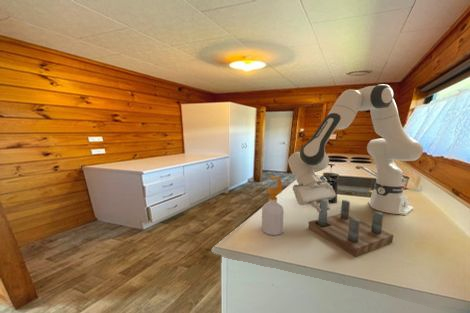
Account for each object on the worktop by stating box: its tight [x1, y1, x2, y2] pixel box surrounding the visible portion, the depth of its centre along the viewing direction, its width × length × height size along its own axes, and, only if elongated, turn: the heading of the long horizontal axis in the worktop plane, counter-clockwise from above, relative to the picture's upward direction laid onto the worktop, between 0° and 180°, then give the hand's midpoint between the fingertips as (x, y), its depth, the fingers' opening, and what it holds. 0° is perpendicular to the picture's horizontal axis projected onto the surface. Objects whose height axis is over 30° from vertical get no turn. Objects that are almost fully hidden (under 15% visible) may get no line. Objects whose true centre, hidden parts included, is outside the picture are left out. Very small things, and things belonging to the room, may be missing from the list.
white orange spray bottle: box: [261, 174, 285, 236], centre depth 85 cm, size 9×9×25 cm
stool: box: [308, 199, 394, 257], centre depth 82 cm, size 22×22×11 cm
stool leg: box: [318, 199, 328, 227], centre depth 85 cm, size 3×3×11 cm
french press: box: [322, 163, 340, 204], centre depth 121 cm, size 12×9×23 cm
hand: (324, 210), depth 84 cm, fingers closed on stool leg, 3 cm apart
